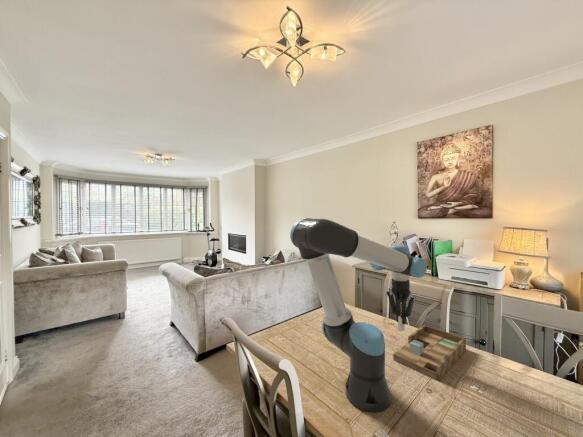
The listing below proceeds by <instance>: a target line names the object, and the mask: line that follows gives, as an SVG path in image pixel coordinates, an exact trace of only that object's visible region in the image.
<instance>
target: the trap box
mask: <svg viewBox="0 0 583 437" xmlns="http://www.w3.org/2000/svg"><path fill="white" fill-rule="evenodd" d="M407 338H408V339H407V341H408V342H407V343H406V344H404V345H403V346H402V347H401V348H399V349H398V350H397V351H395V352H394V353H393V354H392V358H393V361H395V362H397V363H399V364H402V365H403V366H405V367H408V368H409V369H411V370H414V371H416V372H419V373H420V374H422V375H424V376H427V377H429V378H431V379H434V380H435V381H438V382H441V380H442V379H443V378H444V377H445V376H446V374H447V373H448V372H449V371H450V370H451V368H452V367H453V366H454V365H455V364H456V362H457V361H458V360H459V359H460V357H461V356H462V355H463V354H464V352H465V351H466V350H467V346H466V344H467V341H466V340H467V338H466V337H464V336H461V335H457V334H455V333H451V332H448V331H445V330H442V329H438V328H436V327H433V326H429V325H426V324H423V325H422V326H420V327H419V328H418V329H416V330H415V331H414V332H412V333H411V334H409V335H408V336H407ZM413 340H416V341H419V342H422V343H424V352H423V353H422V354H421V355H420V356H419V355H416V354H414V353H412V352H410V342H412V341H413Z"/></svg>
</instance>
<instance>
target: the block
mask: <svg viewBox="0 0 583 437" xmlns="http://www.w3.org/2000/svg"><path fill="white" fill-rule="evenodd" d="M410 352H412V353H414V354H416V355H419V356H420V355H421V354H422V353H423V352H424V343H422V342H419V341H416V340H413V341H412V342H410Z"/></svg>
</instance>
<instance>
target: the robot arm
mask: <svg viewBox="0 0 583 437" xmlns="http://www.w3.org/2000/svg"><path fill="white" fill-rule="evenodd" d="M289 235H290V236H289V237H290V241H291V244H293V246H295V248H297V249H298V251H299V253H300V254H299V255H300V257H301V259H302V260H304V261H306V262H307V264H308V268H309V270H310V273H311V277H312V280H313V283H314V285H315V288H316V292H317V294H318V299H319V300H320V303H321V306H322V309H323V312H324V314H323V316H322V324H321V331H322V334H323V336H324V337H325V338H326V339H327V341H328V342H329V343H330V344H332V345H333V346H335V347H336V348H337V349H339V350H340V352H341V351H342V353H344V354H345V355H346V356H347V357H349V367H350V368H349V372H348V376H347V378H346V382H345V387H344V389H345V396H346V398H347V400H348V401H349V403H350V404H352V405H353V406H354V407H356V409H360V410H362V411H365V412H369V413H380V412H383V411H385V410H387V409H388V408H389V407H390V405H391V399H392V398H391V397H392V396H391V390H390V388H389V384H388V382H387V379H386V372H385V371H386V369H385V368H386V367H385V366H386V364H385V363H386V343H385V336H384V334H383V331H381V329H379V328H378V327H377V326H376V325H374V324H372V323H367V322H364V321H355V320H354V317H353V314H352V311H351V309H350V308H348V307H346V304H345V301H344V298H343V295H342V293H341V289H340V286H339V283H338V279H337V276H336V273H335V269H334V267H333V264H332V261H331V258H330V255H335V256H340V257H343V258H350V257H352V258H354V259H358V260H361V261H365V262H368V263H369V264H370V266H371V268H372V269H373V270H375V271H383V270H384V271H389V272H391V288H390V290H388V291H386V295H387V298H388V301H389V304H390V308H391V311H392V313H393V314H395V315H396V322H397V324H398V325H397V326H398V331H399V332H403V331H404V330H405V329H406V328H405V325H406V324H407V318H409V317H410V316H411V314H412V310H413V306H414V302H415V301H416V299H417V297H416V296H414V295H413V294H412V292H411V289H410V286H411V284H410V277H412V278H417V279H419V278H423V277H424V276H425V275H426V273H427V269H428V268H427V267H428V265H427V264H428V263H427V262H426V260H425V259H424V258H421V257H419V256H413V255H410V250H409V246H407V245H405V244H392V245H391V246H390V247H389V246H387V245H384V244H381V243H379V242H376V241H373V240H371V239H368V238H367V237H363V236H360V235H359V234H358V232H357V231H356V230H354V229H352V228H349V227H347V226H345V225H342V224H340V223H338V222H336V221H334V220H330V219H325V218H312V217H311V218H309V217H306V218H301V219H299V220H297V221H296V222H295V223H294V224H293V225H292V227H291V229H290V234H289ZM407 300H408V303H407Z"/></svg>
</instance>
